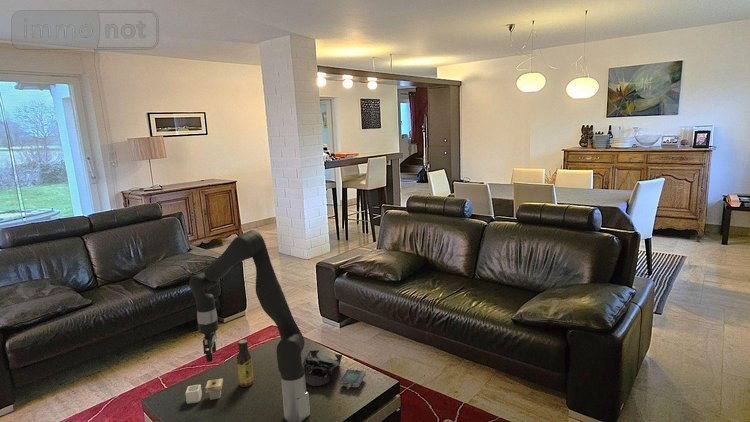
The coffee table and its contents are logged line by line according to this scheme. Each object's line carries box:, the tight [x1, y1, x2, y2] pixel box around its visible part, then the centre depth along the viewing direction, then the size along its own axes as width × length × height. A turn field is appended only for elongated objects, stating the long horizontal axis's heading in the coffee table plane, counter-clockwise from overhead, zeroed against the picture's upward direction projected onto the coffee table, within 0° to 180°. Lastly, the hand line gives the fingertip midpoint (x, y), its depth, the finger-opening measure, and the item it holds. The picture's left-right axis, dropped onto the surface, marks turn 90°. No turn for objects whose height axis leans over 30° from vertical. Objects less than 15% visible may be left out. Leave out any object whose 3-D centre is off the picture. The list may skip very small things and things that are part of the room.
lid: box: [204, 378, 224, 394], centre depth 178 cm, size 6×6×3 cm
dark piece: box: [302, 350, 343, 387], centre depth 191 cm, size 18×20×9 cm
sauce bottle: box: [236, 339, 254, 388], centre depth 186 cm, size 6×6×20 cm
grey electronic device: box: [339, 368, 367, 390], centre depth 183 cm, size 9×3×11 cm
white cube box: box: [185, 384, 203, 405], centre depth 177 cm, size 5×5×5 cm
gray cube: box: [208, 389, 222, 401], centre depth 179 cm, size 4×4×4 cm
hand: (211, 356), depth 177 cm, fingers open, 8 cm apart
